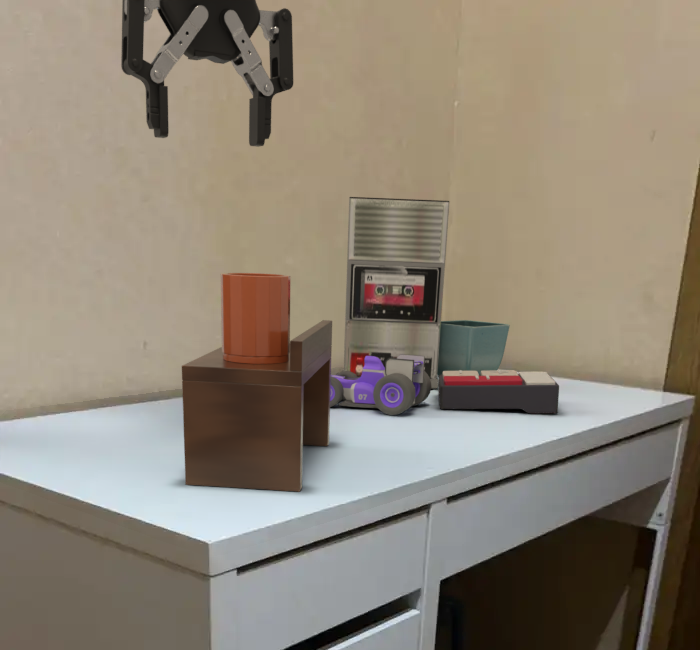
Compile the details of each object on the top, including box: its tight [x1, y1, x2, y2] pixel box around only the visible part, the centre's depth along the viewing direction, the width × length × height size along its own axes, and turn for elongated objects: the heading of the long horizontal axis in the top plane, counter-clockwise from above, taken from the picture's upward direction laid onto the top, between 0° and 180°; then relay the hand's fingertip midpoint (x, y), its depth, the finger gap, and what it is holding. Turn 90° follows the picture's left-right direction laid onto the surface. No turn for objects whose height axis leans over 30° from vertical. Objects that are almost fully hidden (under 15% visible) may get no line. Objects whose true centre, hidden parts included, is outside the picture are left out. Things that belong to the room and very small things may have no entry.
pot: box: [220, 272, 291, 364], centre depth 81 cm, size 6×6×7 cm
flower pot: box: [437, 319, 511, 378], centre depth 139 cm, size 9×9×9 cm
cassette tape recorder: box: [343, 196, 450, 390], centre depth 133 cm, size 14×6×25 cm, turn 91°
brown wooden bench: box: [181, 319, 333, 492], centre depth 87 cm, size 10×20×12 cm, turn 174°
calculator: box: [437, 369, 560, 415], centre depth 124 cm, size 11×4×15 cm
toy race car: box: [330, 354, 432, 416], centre depth 119 cm, size 10×15×6 cm, turn 70°
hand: (209, 141), depth 81 cm, fingers open, 8 cm apart
